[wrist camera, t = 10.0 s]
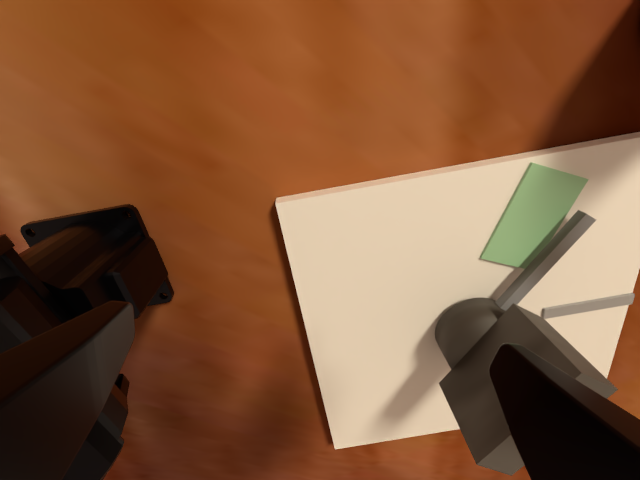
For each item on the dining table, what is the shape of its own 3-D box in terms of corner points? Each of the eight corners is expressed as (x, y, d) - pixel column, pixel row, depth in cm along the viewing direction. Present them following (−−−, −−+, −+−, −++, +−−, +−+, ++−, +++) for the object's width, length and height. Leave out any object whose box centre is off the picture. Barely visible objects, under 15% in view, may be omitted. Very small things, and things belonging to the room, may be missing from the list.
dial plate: (333, 437, 28) (335, 451, 27) (276, 197, 19) (274, 204, 18) (588, 395, 28) (600, 408, 27) (661, 127, 18) (684, 130, 17)
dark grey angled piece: (466, 373, 24) (529, 481, 17) (411, 351, 23) (456, 458, 16) (606, 228, 19) (760, 301, 13) (547, 190, 18) (685, 250, 12)
